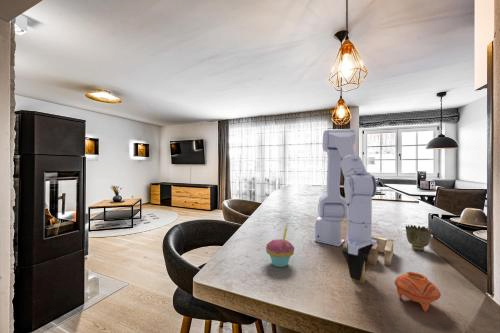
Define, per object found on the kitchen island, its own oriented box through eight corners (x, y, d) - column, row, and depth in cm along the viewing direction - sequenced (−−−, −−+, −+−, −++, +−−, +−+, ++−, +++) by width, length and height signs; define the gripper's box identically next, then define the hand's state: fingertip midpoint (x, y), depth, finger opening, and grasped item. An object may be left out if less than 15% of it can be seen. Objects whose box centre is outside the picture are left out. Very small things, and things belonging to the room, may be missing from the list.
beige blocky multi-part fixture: (346, 255, 72) (347, 241, 72) (354, 244, 81) (354, 232, 81) (390, 266, 64) (390, 251, 64) (393, 253, 74) (393, 239, 74)
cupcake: (295, 259, 68) (296, 222, 68) (291, 272, 60) (292, 229, 60) (269, 255, 71) (269, 219, 71) (262, 267, 63) (262, 226, 63)
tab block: (346, 279, 56) (346, 255, 56) (360, 255, 72) (360, 236, 72) (368, 286, 53) (368, 260, 53) (377, 259, 69) (378, 239, 69)
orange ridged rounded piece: (395, 306, 46) (394, 272, 47) (394, 296, 52) (394, 266, 53) (445, 320, 41) (443, 282, 43) (438, 308, 47) (436, 275, 49)
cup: (436, 255, 73) (436, 231, 73) (411, 253, 74) (412, 229, 74) (423, 246, 80) (423, 225, 80) (401, 245, 81) (401, 224, 81)
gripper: (372, 230, 48) (371, 291, 48) (380, 217, 59) (379, 266, 59) (339, 225, 52) (338, 281, 52) (352, 214, 64) (351, 260, 64)
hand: (358, 273), depth 56 cm, fingers open, 7 cm apart
